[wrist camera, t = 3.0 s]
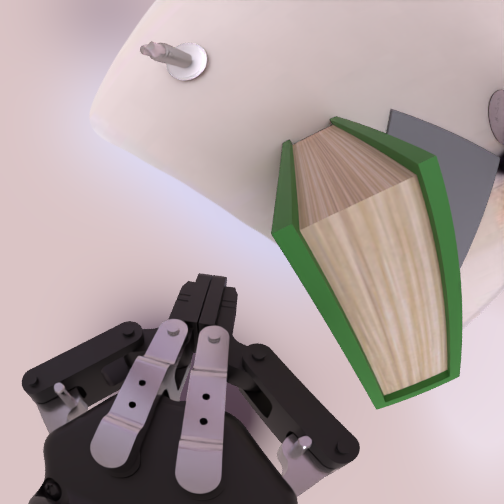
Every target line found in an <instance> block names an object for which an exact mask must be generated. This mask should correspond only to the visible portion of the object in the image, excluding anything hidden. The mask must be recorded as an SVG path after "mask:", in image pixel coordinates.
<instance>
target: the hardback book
mask: <svg viewBox="0 0 504 504" xmlns="http://www.w3.org/2000/svg"><path fill="white" fill-rule="evenodd" d="M330 121H331V123H332V126H329V127H327V128H325V129H323V130H321V131H319V132H317V133H315V134H313V135H311V136H309V137H307V138H305V139H303V140H301V141H299V142H297V143H296V144H294V145H292V143H291V141H290V140H288V141H286V142H284V143H283V146H282V154H281V162H280V170H279V178H278V186H277V194H276V201H275V209H274V217H273V224H272V232H271V234H272V236H273V238H274V239H275V241H276V242H277V244H278V245H279V247H280V249H281V250H282V252H283V253H284V255H285V256H286V258H287V260H288V261H289V263H290V265H291V266H292V268H293V269H294V271H295V273H296V274H297V275H298V277H299V279H300V281H301V282H302V284H303V286H304V287H305V289H306V290H307V292H308V294H309V295H310V297H311V299H312V300H313V302H314V304H315V305H316V307H317V309H318V310H319V312H320V313H321V315H322V317H323V318H324V320H325V322H326V323H327V325H328V327H329V328H330V330H331V332H332V334H333V335H334V337H335V339H336V340H337V342H338V344H339V345H340V347H341V349H342V350H343V352H344V354H345V355H346V357H347V359H348V361H349V362H350V364H351V366H352V368H353V369H354V371H355V373H356V374H357V376H358V378H359V380H360V381H361V383H362V385H363V387H364V388H365V390H366V392H367V394H368V396H369V397H370V399H371V401H372V403H373V404H374V406H375V408H376V409H380V408H383V407H386V406H389V405H392V404H395V403H398V402H401V401H403V400H406V399H409V398H411V397H414V396H417V395H419V394H421V393H424V392H426V391H429V390H431V389H433V388H436V387H438V386H440V385H442V384H444V383H447V382H449V381H451V380H453V379H455V378H457V377H459V374H460V363H461V348H462V293H461V279H460V268H459V258H458V250H457V243H456V237H455V231H454V225H453V220H452V214H451V210H450V205H449V200H448V196H447V192H446V188H445V184H444V180H443V177H442V173H441V170H440V166H439V163H438V160H437V156H436V155H434V154H432V153H430V152H428V151H426V150H423V149H421V148H419V147H417V146H415V145H412V144H410V143H408V142H405V141H403V140H401V139H398V138H396V137H393V136H391V135H388V134H386V133H383V132H381V131H378V130H375V129H373V128H370V127H367V126H364V125H361V124H359V123H356V122H353V121H350V120H346V119H343V118H340V117H337V116H336V117H334V118H332V119H330Z"/></svg>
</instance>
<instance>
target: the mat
mask: <svg viewBox="0 0 504 504" xmlns="http://www.w3.org/2000/svg"><path fill="white" fill-rule="evenodd" d="M386 134H388V135H391V136H393V137H396V138H398V139H401V140H403V141H405V142H408V143H410V144H412V145H415V146H417V147H419V148H421V149H423V150H426V151H428V152H430V153H432V154H434V155H436V156H437V160H438V163H439V166H440V170H441V173H442V177H443V180H444V184H445V188H446V192H447V196H448V200H449V205H450V210H451V214H452V220H453V225H454V231H455V237H456V243H457V250H458V258H459V268H461V266H462V264H463V261H464V259H465V257H466V255H467V253H468V251H469V248H470V246H471V244H472V242H473V239H474V237H475V234H476V232H477V229H478V227H479V224H480V222H481V219H482V216H483V214H484V211H485V208H486V205H487V202H488V199H489V196H490V193H491V190H492V187H493V183H494V180H495V176H496V173H497V169H498V165H499V161H500V158H499V157H498V156H496V155H494V154H493V153H491V152H489V151H487V150H485V149H484V148H482V147H480V146H478V145H476V144H474V143H472V142H470V141H468V140H466V139H464V138H462V137H460V136H458V135H456V134H454V133H452V132H449V131H447V130H445V129H443V128H440V127H438V126H436V125H433V124H431V123H428V122H426V121H423V120H421V119H418V118H415V117H413V116H410V115H407V114H404V113H402V112H399V111H396V110H393V109H391V111H390V117H389V123H388V128H387V133H386Z"/></svg>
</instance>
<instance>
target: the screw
mask: <svg viewBox="0 0 504 504" xmlns="http://www.w3.org/2000/svg"><path fill="white" fill-rule="evenodd" d="M140 52H141V53H142V54H143V55H147V56H150V58H152V59H153V60H155V61H158V62H162V63H166V66H167V70H168V72H169V74H170V75H171V76H172V77H174V78H176V79H179V80H191V79H194V78H196V77H197V76H199V75H200V74H201V73H202V72H203V71H204V69H205V67H206V65H207V54H206V52H205V50H204V49H203V48H202V47H201V46H199V45H197V44H195V43H183V44H180V45H178V46H177V47H172V46H170V45H168V44H165V43H155V42H152V41H151V42H150V43H149V44H148V45H143V46H141V48H140Z"/></svg>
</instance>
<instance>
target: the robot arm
mask: <svg viewBox="0 0 504 504" xmlns="http://www.w3.org/2000/svg"><path fill="white" fill-rule="evenodd" d="M489 119H490V125H491V128H492V131H493V133H494V135H495V137H496V138H497V140H498V141H499V142H500V143H502V144H503V145H504V90H499V91H497V92H495V93H494V95H493V96H492V98H491V101H490V105H489ZM226 283H227V277H222V276H215V275H213V276H212V275H207V274H200V273H199V274H198V277H197V279H196V282H190V281H188V282H187V283H186V284H185V285H183V286H182V288H181V290H180V293H179V295H178V298H177V300H176V302H175V305H174V307H173V310H172V312H171V314H170V317H169V320H166V321H164V322H163V323H162V324H161V325H160V327H159V328H155V329H142V328H141V326H140V325H139V324H138V323H136V322H131V321H129V322H124V323H121V324H120V325H118V326H116V327H114V328H112V329H110V330H108V331H106V332H104V333H102V334H100V335H98V336H96V337H94V338H92V339H90V340H88V341H86V342H84V343H82V344H80V345H78V346H77V347H74V348H72V349H70V350H68V351H66V352H64V353H62V354H60V355H58V356H56V357H54V358H52V359H50V360H48V361H46V362H45V363H42V364H40V365H39V366H36V367H35V368H32V369H30V370H29V371H27V372H26V373H25V374H24V376H23V379H22V386H23V389H24V390H25V391H26V393H27V394H28V395H29V396H30V397H31V398H32V400H33V401H34V402H35V403H36V404H37V406H38V409H39V411H40V413H41V416H42V418H43V421H44V423H45V425H46V427H47V430H48V432H49V435H48V437H47V439H46V440H45V443H44V451H43V452H44V460H45V480H44V482H43V484H42V486H41V487H40V489H39V490H38V491H37V492H36V494H35V495H34V496H33V497H32V498H31V499H30V501H29V504H298V502H297V496H299V495H300V494H302V493H303V492H305V491H306V490H307V489H309V488H310V487H312V486H313V485H315V484H316V483H317V482H319V481H320V480H321V479H323V478H324V477H326V476H328V475H329V474H331V473H333V472H335V471H336V470H338V469H340V468H341V467H343V466H345V465H346V464H348V463H350V462H351V461H353V460H354V459H355V458H356V457H357V455H358V454H359V449H360V446H359V442H358V441H357V439H356V438H355V437H354V436H353V435H352V434H351V433H350V432H349V431H348V430H347V429H346V428H345V427H344V426H343V425H342V424H341V423H340V422H339V421H338V420H337V419H336V418H335V417H334V416H333V415H332V414H331V413H330V412H329V411H328V410H327V409H326V408H325V407H324V406H323V405H322V404H321V403H320V402H319V400H317V399H316V397H315V396H314V395H313V394H312V393H311V392H310V391H309V390H308V389H307V388H306V387H305V386H304V385H303V384H302V383H301V381H299V379H298V378H297V377H296V376H295V375H294V374H293V373H292V372H291V371H290V370H289V369H288V368H287V366H286V365H285V364H284V363H283V362H282V361H281V360H280V359H279V358H278V356H277V355H276V354H275V353H274V352H273V351H272V350H271V349H270V348H269V347H268V346H266V345H263V344H251V345H249V346H246V345H243V344H241V343H239V342H238V341H236V340H235V339H234V337H233V335H232V334H233V328H234V322H235V316H236V305H237V296H238V294H237V292H236V289H235V288H233V287H226ZM193 353H196V356H195V363H194V368H193V369H192V370H191V374H190V380H189V386H188V393H187V399H186V401H180V394H181V391H182V388H183V386H184V383H185V380H186V377H187V375H188V372H189V369H190V366H191V359H192V355H193ZM226 382H228V383H230V384H232V385H235V386H237V387H239V390H240V392H241V393H242V395H243V396H244V397H245V399H246V400H247V401H248V402H249V404H250V405H251V406H252V408H253V409H254V410H255V411H256V413H257V414H258V415H259V416H260V418H261V419H262V420H263V421H264V422H265V424H266V425H267V426H268V427H269V429H270V430H271V431H272V432H273V433H274V435H275V436H276V437H277V438H278V440H279V441H280V442H281V443H282V445H281V446H280V447H279V449H278V452H277V456H278V460H279V461H280V463H281V465H282V469H283V470H282V475H281V474H280V473H279V472H278V470H277V469H276V468H275V467H274V465H273V464H272V463H271V461H270V460H269V459H268V458H267V456H266V455H265V454H264V452H263V451H262V450H261V448H260V447H259V445H258V444H257V443H256V441H255V440H254V439H253V437H252V436H251V434H250V433H249V432H248V430H247V429H246V427H245V426H244V425H243V424H242V423H241V422H240V421H239V420H238V419H237V418H236V417H234V416H233V415H231V414H230V413H228V412H225V397H226ZM119 389H120V391H119V393H118V394H116V395H114V396H112V397H110V398H108V399H107V400H105V401H103V402H102V403H100V404H98V405H97V406H95V407H93V408H92V409H90V410H88V407H89V406H91V405H92V404H94V403H96V402H98V401H100V400H102V399H103V398H105V397H107V396H108V395H111V394H112V393H114V392H116V391H118V390H119ZM87 410H88V411H87Z"/></svg>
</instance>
